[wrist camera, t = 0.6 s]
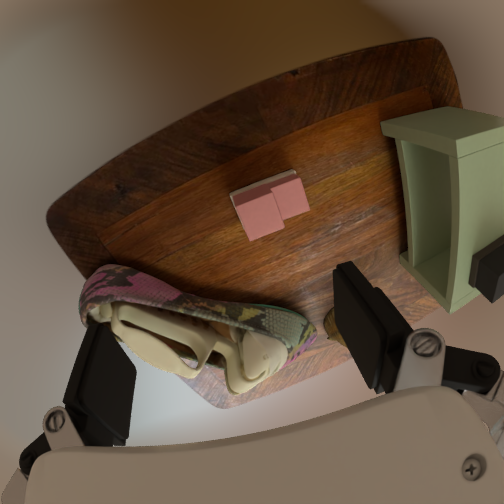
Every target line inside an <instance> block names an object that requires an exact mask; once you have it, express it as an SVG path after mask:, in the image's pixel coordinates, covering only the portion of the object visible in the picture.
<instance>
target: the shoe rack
mask: <svg viewBox="0 0 504 504" xmlns="http://www.w3.org/2000/svg"><path fill="white" fill-rule="evenodd" d="M380 125H381V129H382V133H383V135H385V136H389V137H393V138H395V142H396V147H397V152H398V158H399V164H400V170H401V177H402V184H403V192H404V201H405V211H406V222H407V236H408V250H407V251H405V252H403V253H401V254H399V256H400V264H401V265H402V266H403V267H404V268H405V269H406V270H407V271H408V272H409V273H410V274H411V275H412V276H413V277H414V278H415V279H416V280H417V281H418V282H419V283H420V284H421V285H422V286H423V287H424V288H425V289H426V290H427V291H428V292H429V293H430V294H431V295H432V296H433V297H434V298H435V299H436V300H437V301H438V303H439V304H440V305H441V306H442V307H443V308H444V309H445V310H446V311H447V312H448V313H449V314H451V313H453V312H454V311H456V310H457V309H459V308H460V307H462V306H463V305H465V304H466V303H468V302H469V301H471V300H472V299H474V298H475V297H476V296H477V295H479V294H481V293H480V292H479V291H478V290H477V289H476V288H472V287H471V286H470V285H469V284H468V282H469V276H470V270H471V262H472V255H474V254H475V253H477V252H478V251H480V250H481V249H483V248H485V247H486V246H488V245H489V244H491V243H492V242H494V241H495V240H496V239H498V238H499V237H501V236H502V235H504V118H502V117H498V116H494V115H490V114H485V113H481V112H476V111H471V110H466V109H461V108H455V107H449V106H447V107H442V108H437V109H432V110H428V111H423V112H419V113H414V114H410V115H406V116H402V117H398V118H394V119H390V120H386V121H382V122H380Z"/></svg>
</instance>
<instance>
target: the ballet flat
mask: <svg viewBox="0 0 504 504" xmlns="http://www.w3.org/2000/svg"><path fill="white" fill-rule="evenodd" d="M79 314H80V318H81V321H82V323H83V325H84V326H85V327H86V328H88V326H89V325H92V324H97V323H102V324H104V326H107V327H108V328H109V330H110V331H111V333H112V334H113V336H114V337H115V339H116V340H117V341H118V342H123V343H125V344H126V345H127V346H128V347H129V348H130V349H131V350H132V351H133V352H134V353H135V354H136V355H137V356H139V357H140V358H141V359H142V360H144V361H146V362H147V363H149V364H150V365H152V366H154V367H157V368H159V369H161V370H164V371H167V372H170V373H175V374H178V375H180V376H183V377H186V378H189V379H191V378H194V377H195V376H197V375H198V374H199V372H200V371H201V369H202V368H203V366H204V364H205V365H209V366H212V367H216V368H219V369H222V370H224V374H225V380H226V385H227V389H228V391H229V393H230V394H232V395H238V394H240V393H244V392H246V391H248V390H250V389H251V388H253V387H254V386H255V385H257V384H258V383H259V382H262V381H264V380H265V379H266V378H267V377H270V376H272V375H274V374H275V373H276V372H277V371H279V370H281V369H282V368H284V367H285V366H286V365H288V364H289V363H290V362H292V361H293V360H295V359H296V358H297V357H299V356H300V355H301V354H302V353H303V352H304V351H306V350H307V348H308V347H309V346H311V345H312V344H313V342H314V341H315V339H316V337H317V330H316V328H315V326H314V325H313V324H312V323H310V322H309V321H308V320H307V319H306V318H304V317H303V316H301V315H300V314H298V313H296V312H293V311H291V310H288V309H285V308H281V307H277V306H271V305H264V304H246V303H238V302H227V301H218V300H212V299H207V298H203V297H199V296H196V295H193V294H188V293H185V292H183V291H181V290H178V289H176V288H174V287H172V286H170V285H169V284H167V283H165V282H163V281H161V280H159V279H157V278H155V277H153V276H150V275H148V274H145V273H143V272H140V271H138V270H136V269H134V268H131V267H126V266H121V265H116V264H107V265H104V266H102V267H100V268H98V269H97V270H96V271H95V272H94V273H93V275H92V276H91V277H90V278H89V279H88V280H87V281H86V282H85V284H84V286H83V289H82V292H81V295H80V299H79ZM180 357H181V358H185V359H189V360H192V361H196V362H198V365H197V367H196V369H194V368H191V367H189V366H188V365H187V364H185V363H184V362H183V360H182V359H181V358H180Z"/></svg>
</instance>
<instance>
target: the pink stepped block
mask: <svg viewBox="0 0 504 504" xmlns="http://www.w3.org/2000/svg"><path fill="white" fill-rule="evenodd" d="M229 195H230V198H231V200H232V202H233V205H234V207H235V210H236V212H237V214H238V217H239V219H240V221H241V224H242V226H243V228H244V229H245V231H246V234H247V236H248V239H249V241H252V240H255V239H257V238H260V237H262V236H265V235H267V234H270V233H272V232H275V231H277V230H280V229H283V228H285V225H284V223H283V220H285V219H288V218H290V217H293V216H295V215H298V214H300V213H303V212H306V211H308V210H310V208H309V205H308V201H307V198H306V195H305V191H304V188H303V185H302V182H301V178H300V177H299V176H298V175H296V172H295V171H294V170H293V169H291V170H288V171H285V172H283V173H280V174H277V175H275V176H272V177H269V178H267V179H264V180H262V181H259V182H256V183H254V184H251V185H249V186H246V187H244V188H241V189H239V190H236V191H234V192H231V193H229Z"/></svg>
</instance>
